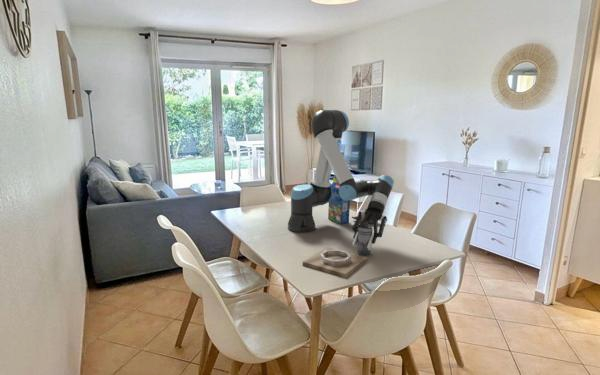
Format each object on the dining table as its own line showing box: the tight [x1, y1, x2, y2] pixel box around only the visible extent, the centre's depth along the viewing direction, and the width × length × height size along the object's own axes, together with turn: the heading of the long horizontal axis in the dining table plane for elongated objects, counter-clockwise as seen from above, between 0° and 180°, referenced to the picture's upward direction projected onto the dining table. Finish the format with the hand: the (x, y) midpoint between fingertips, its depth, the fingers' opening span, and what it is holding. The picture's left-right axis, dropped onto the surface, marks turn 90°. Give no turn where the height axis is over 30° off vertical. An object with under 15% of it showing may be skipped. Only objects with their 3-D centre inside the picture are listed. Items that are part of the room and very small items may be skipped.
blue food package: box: [327, 177, 351, 225], centre depth 207 cm, size 6×12×25 cm, turn 33°
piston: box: [356, 225, 374, 257], centre depth 160 cm, size 6×6×12 cm
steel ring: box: [320, 248, 351, 266], centre depth 150 cm, size 12×12×2 cm
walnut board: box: [302, 247, 368, 278], centre depth 151 cm, size 20×20×2 cm
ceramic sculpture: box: [351, 208, 374, 225], centre depth 206 cm, size 11×9×15 cm
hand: (361, 247), depth 158 cm, fingers closed on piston, 6 cm apart
